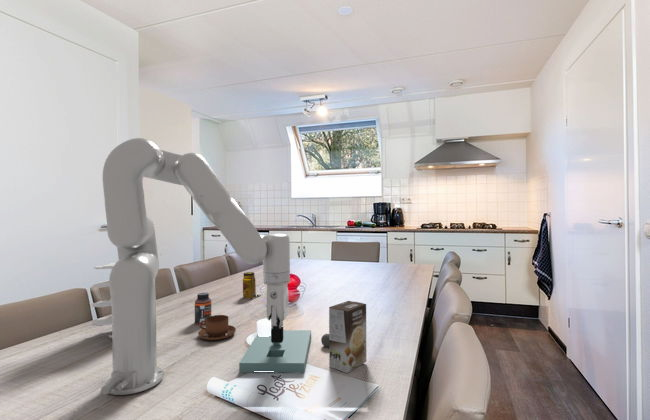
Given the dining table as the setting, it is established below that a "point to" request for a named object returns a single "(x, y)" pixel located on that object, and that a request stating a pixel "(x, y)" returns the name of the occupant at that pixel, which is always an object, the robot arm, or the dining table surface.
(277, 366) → the grey-green flat board
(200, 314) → the supplement bottle
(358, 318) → the coffee box
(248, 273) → the condiment
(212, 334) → the cup and saucer
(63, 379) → the dining table surface
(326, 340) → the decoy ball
